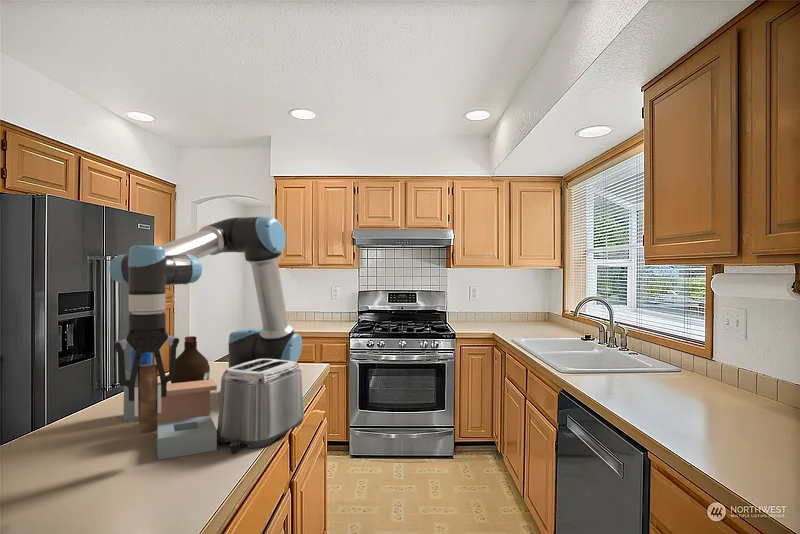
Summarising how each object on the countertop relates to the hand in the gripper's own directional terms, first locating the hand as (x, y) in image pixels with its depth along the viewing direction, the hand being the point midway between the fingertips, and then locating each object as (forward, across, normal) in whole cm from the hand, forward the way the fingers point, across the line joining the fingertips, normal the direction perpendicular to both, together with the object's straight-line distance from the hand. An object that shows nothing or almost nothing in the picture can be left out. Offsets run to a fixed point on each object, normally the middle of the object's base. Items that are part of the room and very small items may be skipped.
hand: (148, 412), depth 109 cm
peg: (+4, 0, 0) cm, 4 cm away
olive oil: (+13, -11, -28) cm, 32 cm away
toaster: (+13, -27, -8) cm, 31 cm away
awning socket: (+12, -8, -11) cm, 19 cm away
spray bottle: (+13, +2, -40) cm, 42 cm away
